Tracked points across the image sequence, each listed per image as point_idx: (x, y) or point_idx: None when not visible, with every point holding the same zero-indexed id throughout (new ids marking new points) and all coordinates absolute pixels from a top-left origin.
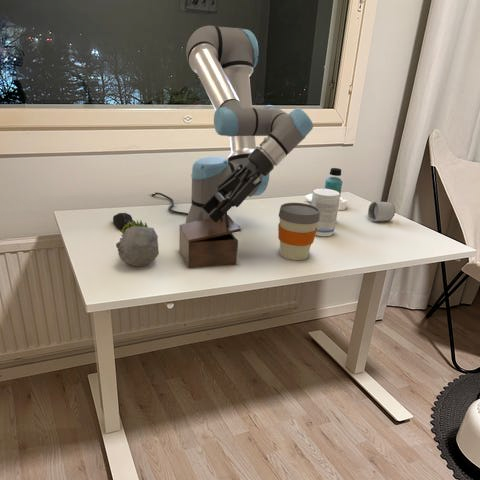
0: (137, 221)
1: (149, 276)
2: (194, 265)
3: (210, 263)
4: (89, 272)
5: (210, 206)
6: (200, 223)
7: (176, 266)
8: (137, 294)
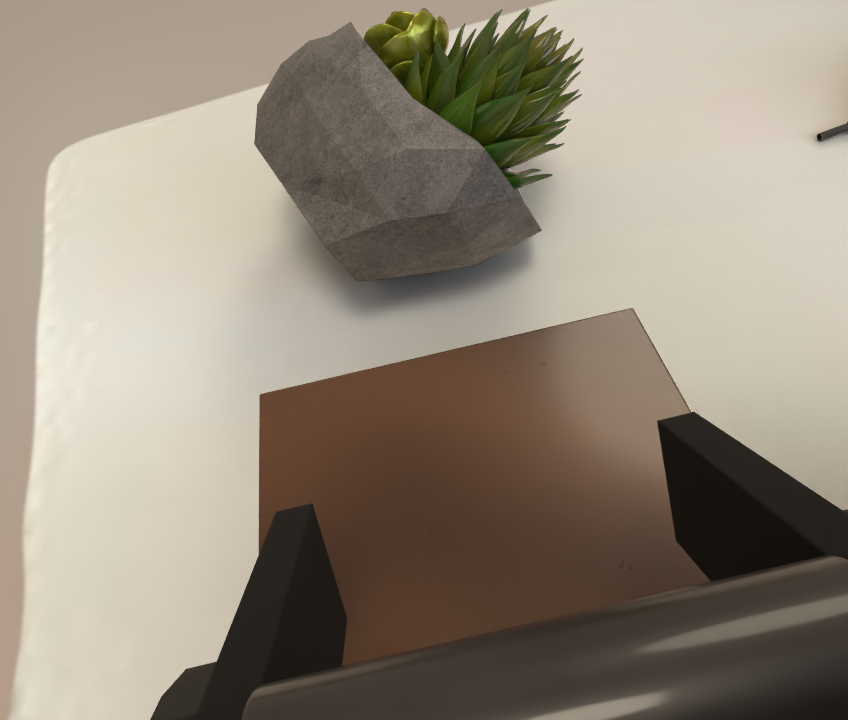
0: (519, 44)
1: (241, 296)
2: None
3: None
4: None
5: (712, 532)
6: (625, 481)
7: None
8: (71, 272)
